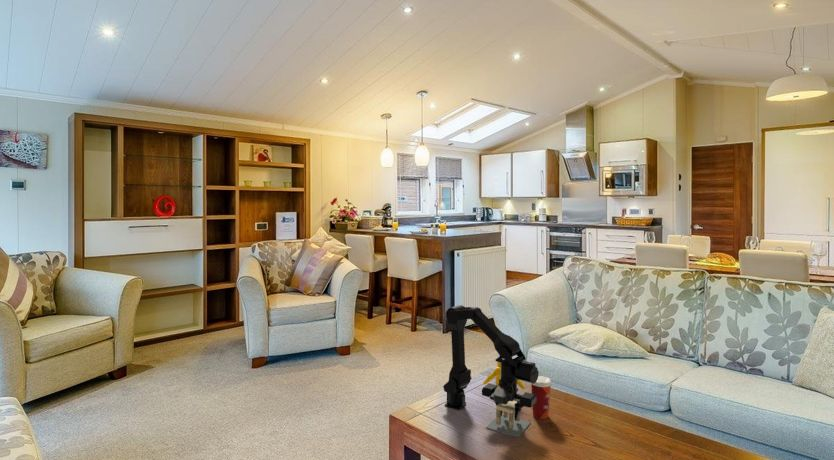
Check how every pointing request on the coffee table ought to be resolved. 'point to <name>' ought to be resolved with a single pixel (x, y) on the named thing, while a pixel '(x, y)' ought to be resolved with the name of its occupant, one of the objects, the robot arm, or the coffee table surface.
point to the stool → (506, 412)
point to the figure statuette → (499, 376)
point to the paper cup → (541, 397)
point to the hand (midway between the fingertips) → (508, 418)
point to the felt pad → (504, 426)
